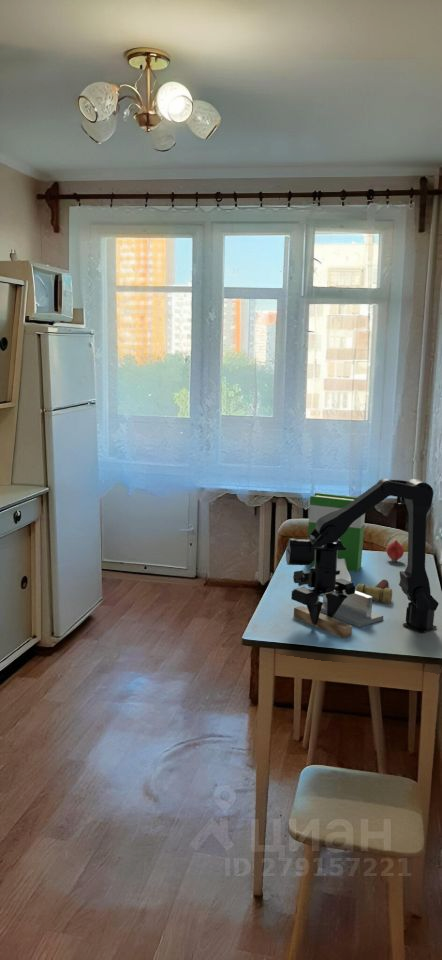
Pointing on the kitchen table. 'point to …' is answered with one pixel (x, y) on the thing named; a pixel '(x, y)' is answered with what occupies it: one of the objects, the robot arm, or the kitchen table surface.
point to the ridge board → (353, 616)
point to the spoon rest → (342, 570)
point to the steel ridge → (356, 604)
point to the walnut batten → (324, 622)
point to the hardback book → (351, 537)
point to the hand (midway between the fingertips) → (321, 622)
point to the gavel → (377, 591)
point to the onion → (395, 550)
